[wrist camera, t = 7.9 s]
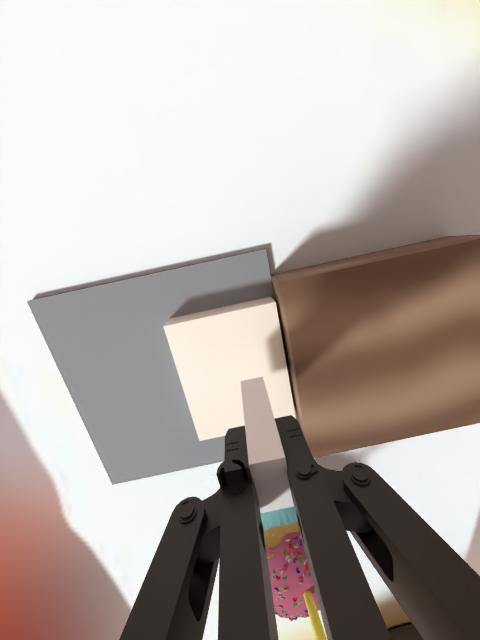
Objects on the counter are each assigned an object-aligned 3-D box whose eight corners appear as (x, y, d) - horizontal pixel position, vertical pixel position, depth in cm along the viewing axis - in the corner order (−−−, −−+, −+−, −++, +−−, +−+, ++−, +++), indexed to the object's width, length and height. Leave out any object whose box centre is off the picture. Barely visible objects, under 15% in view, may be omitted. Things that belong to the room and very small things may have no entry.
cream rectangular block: (290, 405, 22) (296, 420, 20) (201, 424, 22) (199, 441, 20) (270, 296, 19) (275, 302, 17) (169, 318, 19) (163, 326, 17)
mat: (298, 441, 24) (299, 445, 23) (114, 479, 24) (112, 484, 24) (264, 248, 19) (266, 249, 18) (31, 299, 19) (27, 301, 18)
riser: (443, 392, 23) (486, 421, 19) (295, 423, 23) (309, 458, 19) (448, 236, 19) (503, 233, 15) (269, 275, 19) (280, 282, 16)
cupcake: (261, 474, 25) (291, 670, 13) (336, 495, 26) (422, 690, 15) (230, 534, 27) (232, 748, 15) (300, 550, 28) (351, 759, 17)
